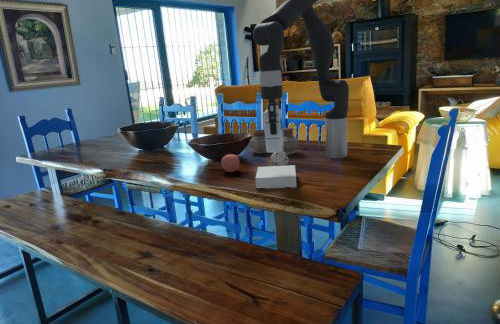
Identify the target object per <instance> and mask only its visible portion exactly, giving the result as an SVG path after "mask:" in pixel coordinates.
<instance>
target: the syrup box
mask: <svg viewBox="0 0 500 324" xmlns="http://www.w3.org/2000/svg"><path fill="white" fill-rule="evenodd" d="M276 113H278V116H277V117H276V120H277V124H276V127H277V134H276V135H271V134H270V124H269V118H268V113H267V109H266V110H265V111H264V112H263V113H262V115H263V130H265V142H266V153H274V152H282V151H283V149H284V142H283V136H284V133H283V129H284V128H283V118H282V117H283V115H282V109H279V108H278V110H277V111H276ZM271 119H275V117H271Z"/></svg>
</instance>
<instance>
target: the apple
mask: <svg viewBox="0 0 500 324" xmlns="http://www.w3.org/2000/svg"><path fill="white" fill-rule="evenodd" d="M240 163H241V162H240V158H239V156H238V155H236V154H232V153H228V154H226V155H224V156H222V158H221V164H220V165H221V167H222V169H223V170H224V171H225V172H228V173H233V172H236V171H237V170H238V168H240Z"/></svg>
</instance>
